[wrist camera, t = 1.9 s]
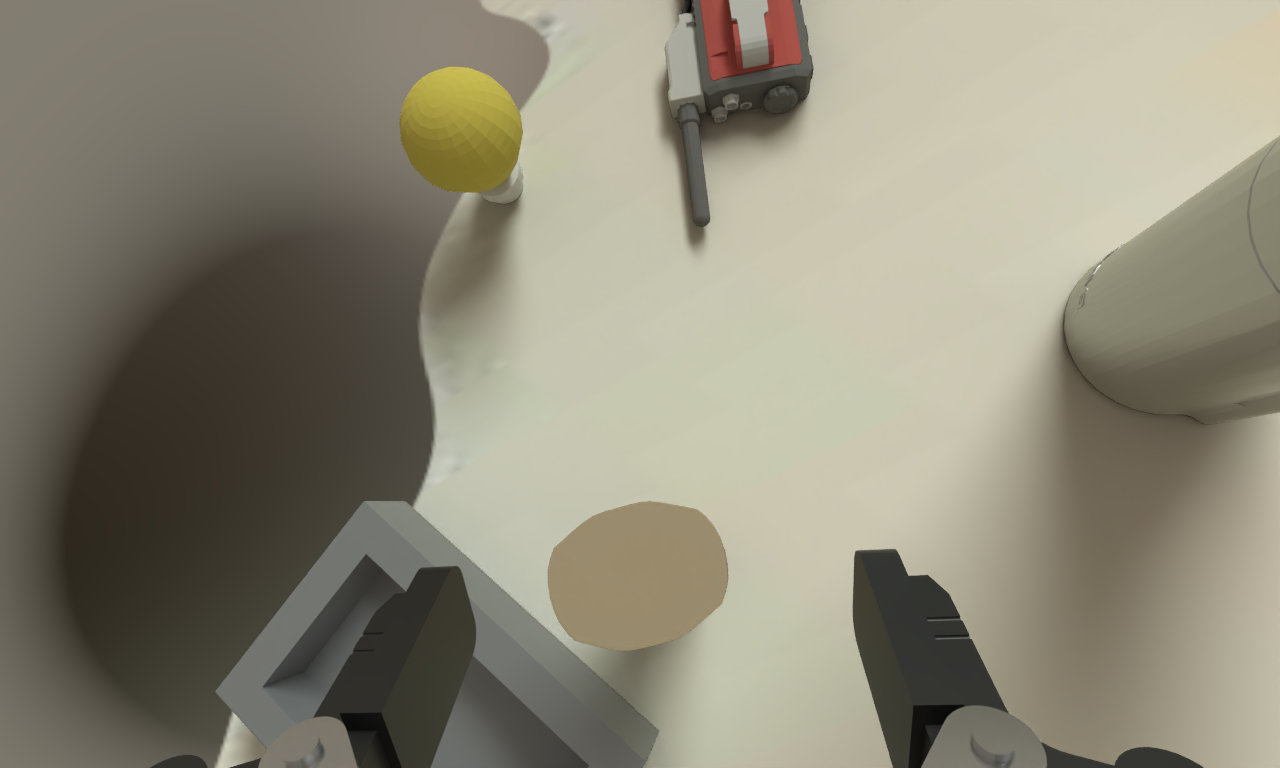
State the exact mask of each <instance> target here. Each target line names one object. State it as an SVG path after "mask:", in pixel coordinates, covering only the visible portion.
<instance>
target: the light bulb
mask: <svg viewBox="0 0 1280 768" xmlns="http://www.w3.org/2000/svg"><path fill="white" fill-rule="evenodd" d="M400 133H401V141H402V145H403V147H404V149H405V151H406V153H407V155H408V157H409V160H410V162H411V164H412V165H413V167H414V168H415V169H416V170H417V171H418V172H419V173H420V174H421V175H422V176H423V177H424V178H425V179H426V180H427V181H429V182H430V183H431V184H432V185H434V186H437V187H439V188H441V189H444V190H446V191H452V192H475V193H479V194H480V195H481V196H482V197H483V198H484V199H486V200H488V201H490V202H498V203H500V204H507V203H511V202H513V201H514V200H516V199H517V198H518V197H519V196H520V194H521V192H522V189H523V177H524V176H523V169H522V167H521V166H520V164H519V162H518V161H517V160H518V155H519V150H520V145H521V140H522V134H523V129H522V122H521V116H520V113H519V111H518V109H517V107H516V105H515V104H514V102H513V100H512V98H511V96H510V95H509V93H508V92H507V91H506V90H505V89H504V88H503V87H502V86H501V85H499V84H498V83H497V82H496V81H495V80H493V79H492V78H491V77H490V76H488V75H486V74H484V73H481V72H479V71H476V70H473V69H471V68H465V67H447V68H443V69H440V70H436V71H433V72H431V73H429V74H428V75H426V76H424V77H423V78H421V79H420V80H419V81H418V82H417V83H416V84H415V85H414V86H413V87H412V88H411V90H410V92H409V94H408V96H407V97H406V99H405V101H404V103H403V106H402V111H401V115H400Z"/></svg>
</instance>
